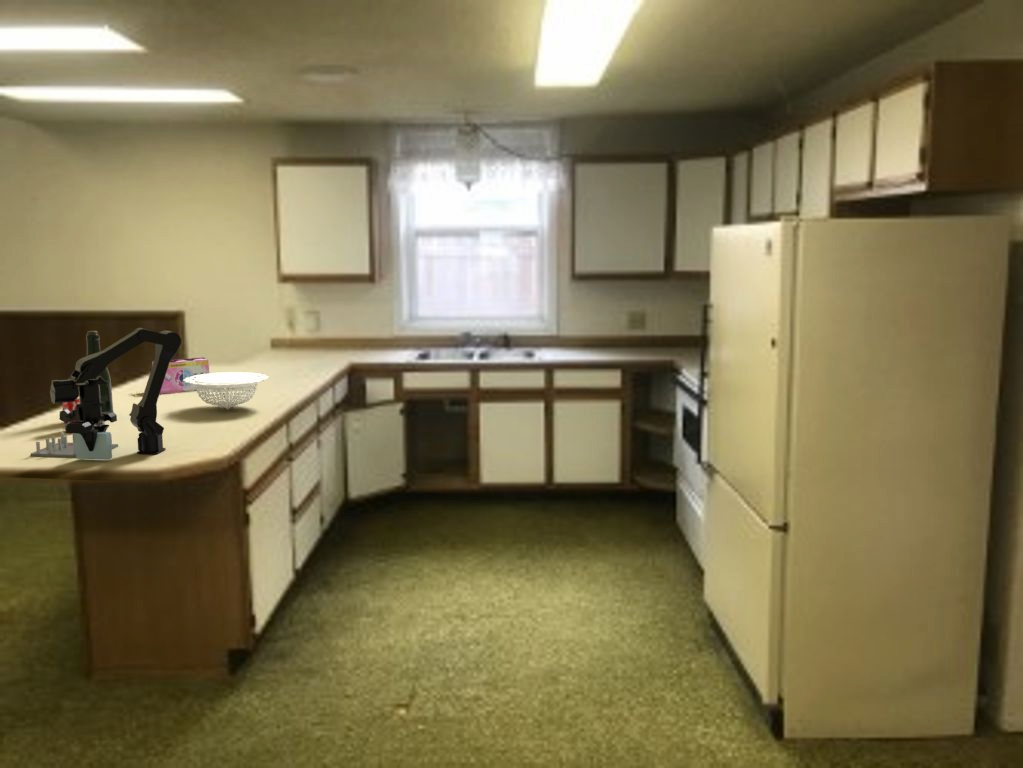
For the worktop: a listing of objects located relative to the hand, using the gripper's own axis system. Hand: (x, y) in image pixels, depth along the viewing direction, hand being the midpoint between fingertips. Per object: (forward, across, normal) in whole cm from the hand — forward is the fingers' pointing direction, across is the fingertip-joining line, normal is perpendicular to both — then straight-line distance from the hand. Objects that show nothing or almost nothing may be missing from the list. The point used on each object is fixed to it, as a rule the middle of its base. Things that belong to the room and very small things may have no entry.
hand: (93, 450), depth 264 cm
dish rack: (+3, -10, -12) cm, 16 cm away
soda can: (+3, -37, -28) cm, 47 cm away
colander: (+4, -81, +9) cm, 81 cm away
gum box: (+4, -119, -28) cm, 123 cm away
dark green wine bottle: (+3, -57, -31) cm, 65 cm away
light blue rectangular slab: (+3, 0, 0) cm, 3 cm away
